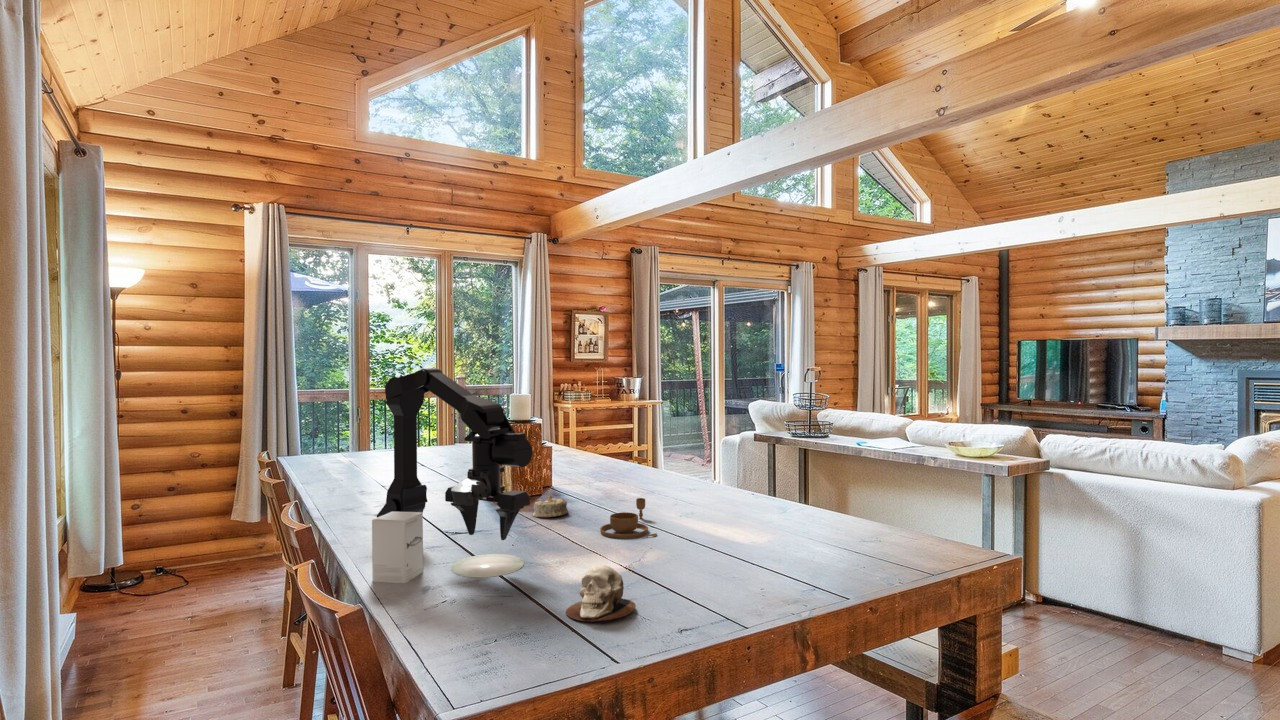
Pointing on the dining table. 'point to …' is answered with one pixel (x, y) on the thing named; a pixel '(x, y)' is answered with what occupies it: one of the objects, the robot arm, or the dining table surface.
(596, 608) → the skull
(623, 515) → the place setting
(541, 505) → the cake
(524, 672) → the dining table surface
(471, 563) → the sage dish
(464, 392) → the robot arm
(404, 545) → the supplement box
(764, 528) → the dining table surface
